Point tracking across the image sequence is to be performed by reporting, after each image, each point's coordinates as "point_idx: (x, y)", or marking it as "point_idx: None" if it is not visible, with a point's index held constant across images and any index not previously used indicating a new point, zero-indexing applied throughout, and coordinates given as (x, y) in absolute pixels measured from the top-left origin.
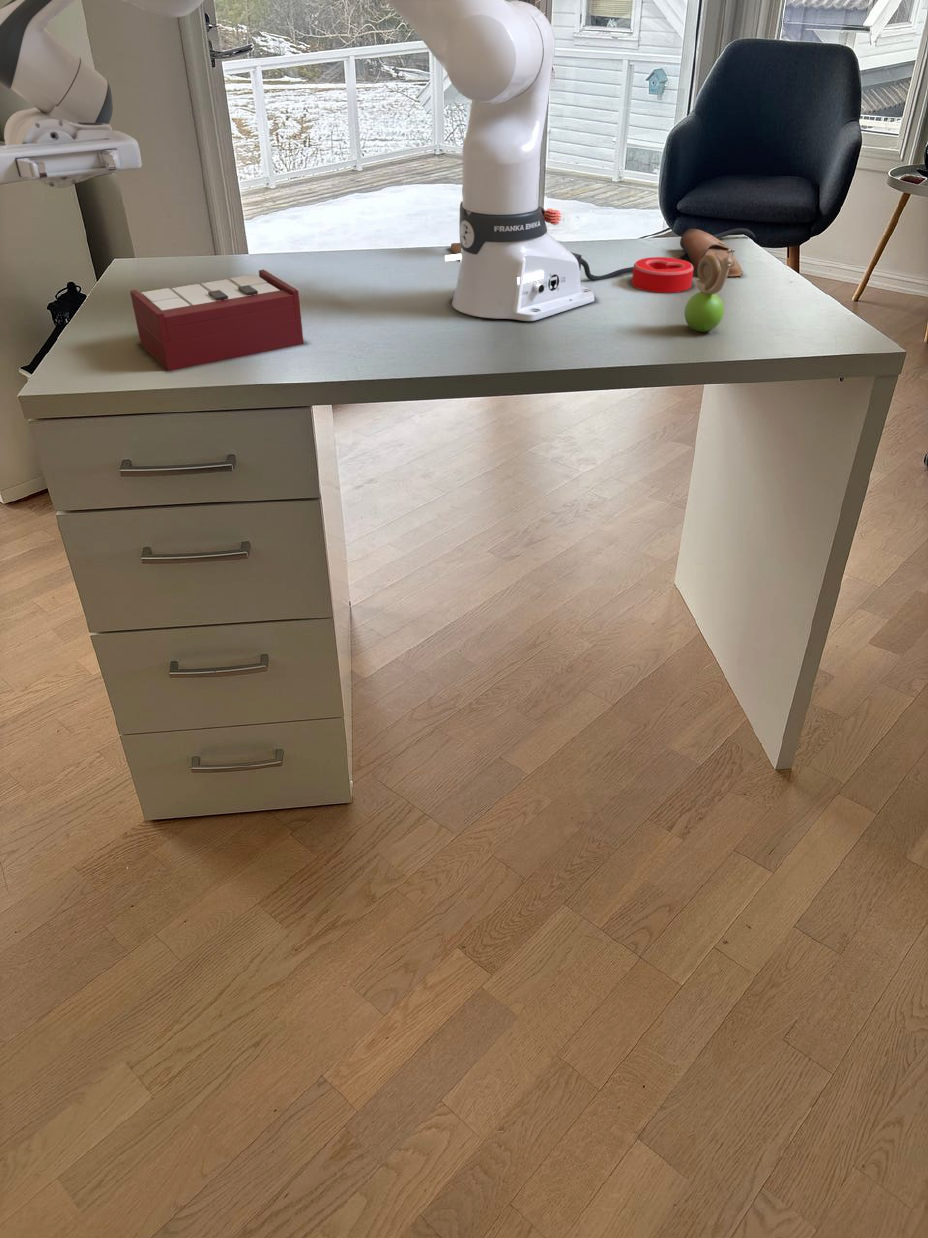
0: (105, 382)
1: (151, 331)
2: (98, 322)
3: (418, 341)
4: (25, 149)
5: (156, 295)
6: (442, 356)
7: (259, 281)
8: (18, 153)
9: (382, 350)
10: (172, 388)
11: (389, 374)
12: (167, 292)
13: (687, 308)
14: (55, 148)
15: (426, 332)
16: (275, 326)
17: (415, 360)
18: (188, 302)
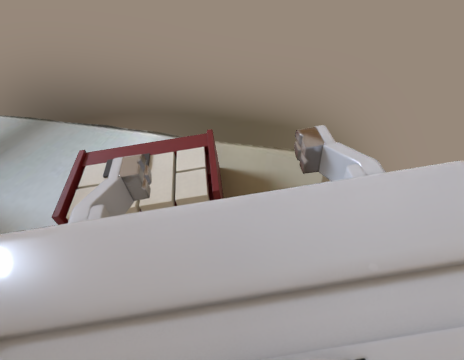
0: (268, 161)
1: (218, 169)
2: None
3: (33, 168)
4: (371, 201)
5: (195, 180)
6: (47, 144)
7: (82, 191)
8: (385, 173)
9: (66, 161)
10: (224, 143)
11: (96, 131)
12: (182, 185)
13: None
14: (260, 196)
15: (10, 181)
16: None
17: (65, 143)
18: (173, 162)
